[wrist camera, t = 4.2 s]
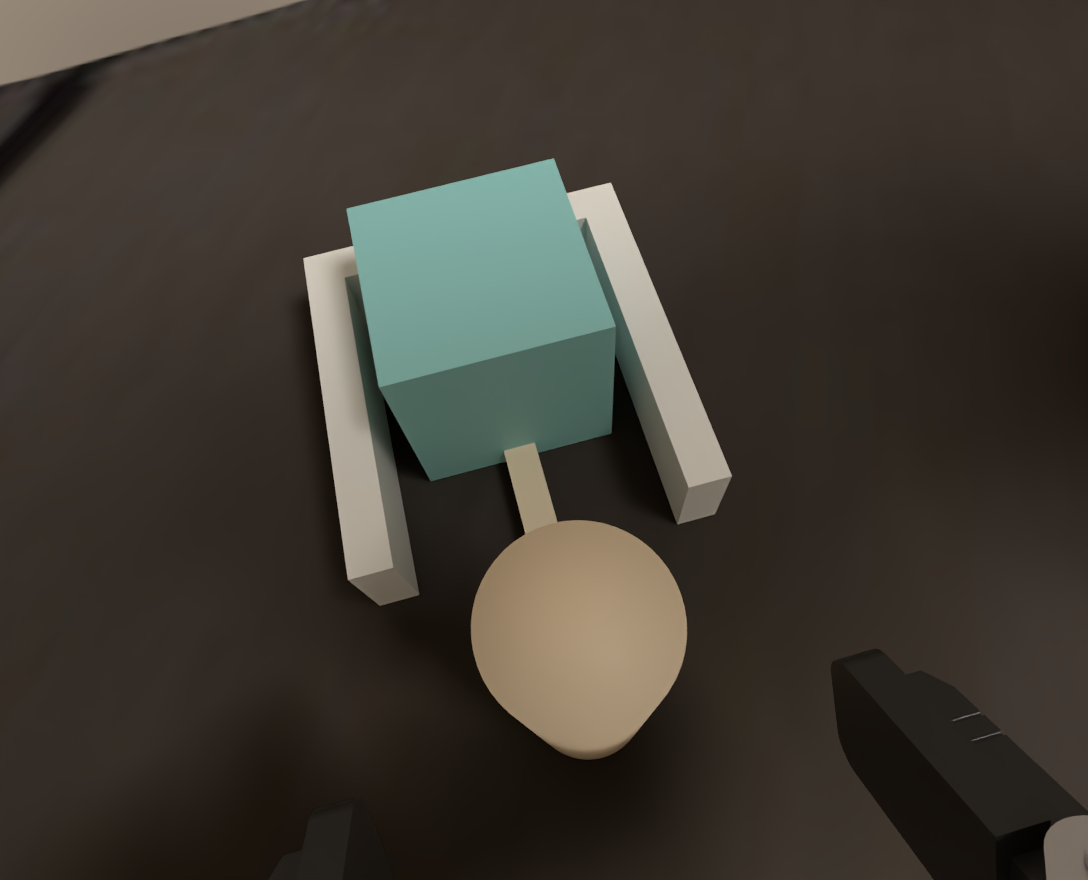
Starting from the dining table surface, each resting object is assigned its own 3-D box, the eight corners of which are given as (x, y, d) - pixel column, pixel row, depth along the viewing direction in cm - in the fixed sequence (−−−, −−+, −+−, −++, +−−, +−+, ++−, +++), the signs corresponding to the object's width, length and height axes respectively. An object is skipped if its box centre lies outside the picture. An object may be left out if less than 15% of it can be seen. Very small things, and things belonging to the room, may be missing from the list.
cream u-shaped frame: (609, 244, 26) (610, 182, 24) (715, 514, 22) (732, 475, 19) (333, 313, 26) (303, 258, 23) (380, 605, 21) (348, 580, 18)
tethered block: (562, 289, 26) (544, 23, 17) (711, 726, 19) (814, 676, 10) (400, 331, 25) (291, 81, 16) (493, 789, 19) (397, 796, 10)
